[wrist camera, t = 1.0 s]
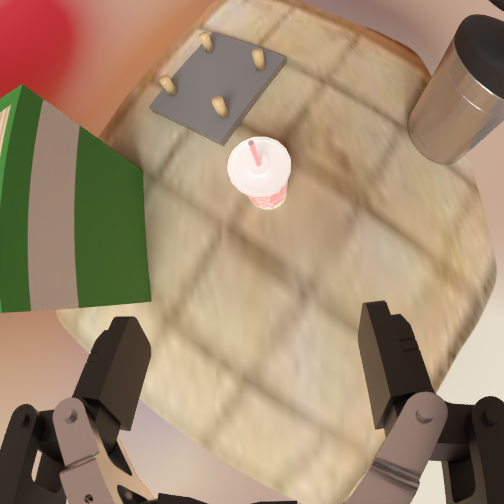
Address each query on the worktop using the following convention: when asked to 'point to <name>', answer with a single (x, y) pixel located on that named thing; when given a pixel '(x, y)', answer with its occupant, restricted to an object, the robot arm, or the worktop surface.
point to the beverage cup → (261, 171)
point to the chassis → (217, 86)
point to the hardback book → (66, 213)
